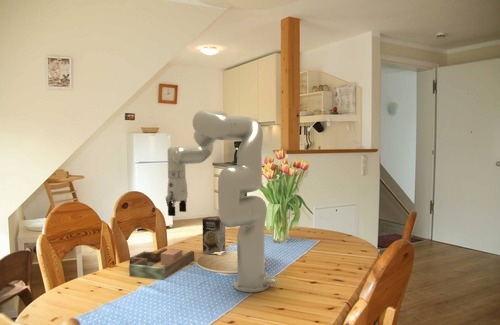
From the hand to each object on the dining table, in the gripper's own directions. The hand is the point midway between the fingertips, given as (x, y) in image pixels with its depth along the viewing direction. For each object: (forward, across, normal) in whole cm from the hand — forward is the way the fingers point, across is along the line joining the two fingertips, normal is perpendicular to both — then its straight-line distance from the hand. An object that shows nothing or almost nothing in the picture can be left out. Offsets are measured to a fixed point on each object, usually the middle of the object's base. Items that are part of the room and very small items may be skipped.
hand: (177, 213), depth 163 cm
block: (+20, -7, -1) cm, 21 cm away
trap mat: (+20, -12, +8) cm, 25 cm away
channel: (+20, -13, +2) cm, 24 cm away
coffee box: (+20, +12, -12) cm, 26 cm away
